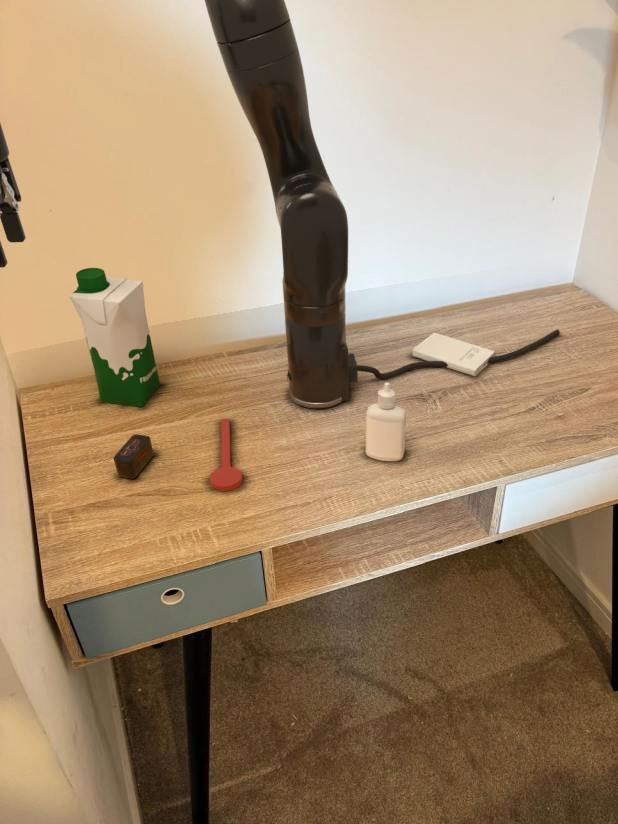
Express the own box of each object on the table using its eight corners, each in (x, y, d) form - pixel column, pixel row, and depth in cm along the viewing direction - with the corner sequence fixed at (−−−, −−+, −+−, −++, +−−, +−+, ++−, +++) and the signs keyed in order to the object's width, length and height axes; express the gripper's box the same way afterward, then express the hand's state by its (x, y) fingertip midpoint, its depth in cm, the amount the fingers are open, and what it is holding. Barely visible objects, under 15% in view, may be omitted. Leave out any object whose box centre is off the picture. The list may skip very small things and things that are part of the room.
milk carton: (118, 376, 124) (89, 259, 111) (168, 383, 123) (146, 266, 110) (92, 404, 117) (59, 283, 104) (145, 411, 116) (119, 290, 103)
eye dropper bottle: (389, 469, 106) (392, 397, 98) (360, 453, 109) (361, 382, 101) (408, 455, 109) (413, 385, 101) (380, 440, 112) (382, 370, 104)
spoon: (240, 422, 114) (239, 417, 114) (242, 489, 102) (242, 484, 101) (211, 424, 114) (210, 419, 113) (210, 492, 101) (209, 487, 101)
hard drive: (434, 339, 137) (495, 358, 132) (411, 357, 131) (474, 377, 126) (434, 331, 135) (496, 349, 131) (412, 349, 130) (475, 369, 125)
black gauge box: (158, 451, 108) (154, 433, 106) (135, 481, 103) (130, 462, 101) (129, 447, 109) (124, 428, 107) (104, 475, 104) (99, 457, 101)
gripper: (-24, 132, 81) (23, 275, 92) (13, 101, 92) (51, 232, 102) (-95, 133, 80) (-40, 277, 91) (-50, 102, 91) (-5, 234, 102)
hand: (8, 253), depth 97 cm, fingers open, 8 cm apart
